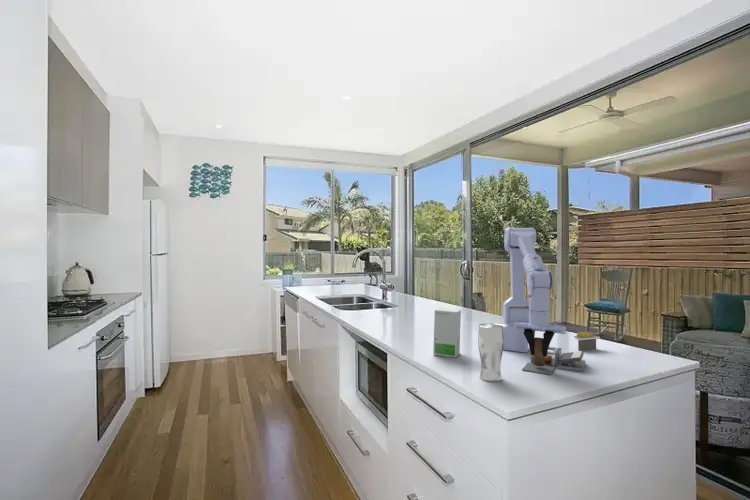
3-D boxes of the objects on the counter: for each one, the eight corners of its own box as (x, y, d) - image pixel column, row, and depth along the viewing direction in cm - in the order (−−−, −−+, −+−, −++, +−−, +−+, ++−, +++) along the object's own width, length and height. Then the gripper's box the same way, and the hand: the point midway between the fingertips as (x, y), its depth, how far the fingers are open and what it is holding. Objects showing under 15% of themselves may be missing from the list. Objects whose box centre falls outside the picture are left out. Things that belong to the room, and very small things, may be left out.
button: (540, 361, 130) (540, 356, 130) (541, 359, 133) (541, 354, 133) (550, 362, 128) (550, 357, 128) (552, 360, 131) (552, 355, 131)
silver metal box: (529, 364, 128) (529, 351, 128) (535, 356, 136) (535, 345, 136) (582, 372, 120) (582, 358, 120) (585, 363, 128) (585, 351, 128)
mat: (522, 370, 121) (522, 369, 121) (527, 363, 128) (527, 362, 128) (550, 375, 117) (550, 373, 117) (555, 368, 124) (555, 366, 124)
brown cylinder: (532, 365, 122) (532, 338, 122) (535, 362, 125) (535, 337, 125) (543, 366, 120) (543, 340, 120) (545, 364, 123) (545, 338, 123)
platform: (553, 348, 149) (553, 330, 149) (591, 344, 155) (591, 327, 155) (578, 356, 138) (578, 337, 138) (619, 352, 143) (619, 334, 143)
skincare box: (432, 355, 138) (433, 310, 138) (437, 350, 144) (437, 307, 144) (457, 358, 135) (457, 311, 134) (461, 353, 141) (461, 308, 141)
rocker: (559, 363, 123) (558, 359, 124) (563, 356, 131) (562, 352, 131) (580, 361, 120) (579, 357, 120) (583, 354, 128) (582, 350, 128)
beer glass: (488, 383, 110) (489, 328, 109) (473, 376, 116) (473, 324, 116) (509, 380, 112) (509, 326, 112) (492, 373, 119) (492, 322, 119)
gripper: (511, 310, 123) (511, 354, 123) (563, 314, 115) (563, 361, 115) (516, 307, 129) (516, 349, 129) (566, 310, 121) (566, 356, 121)
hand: (538, 355), depth 122 cm, fingers closed on brown cylinder, 3 cm apart
